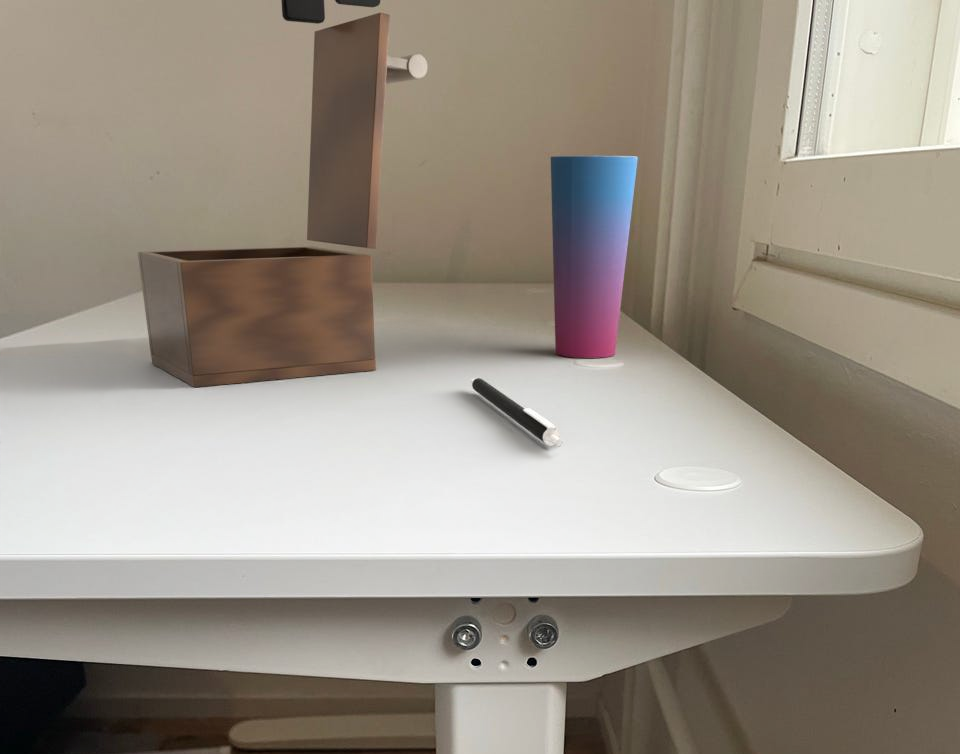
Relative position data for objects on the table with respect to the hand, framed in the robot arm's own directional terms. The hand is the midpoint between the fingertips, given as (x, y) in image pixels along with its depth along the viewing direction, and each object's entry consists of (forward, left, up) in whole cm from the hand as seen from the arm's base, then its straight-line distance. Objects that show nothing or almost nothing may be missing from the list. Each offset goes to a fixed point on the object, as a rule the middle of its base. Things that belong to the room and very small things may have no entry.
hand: (329, 13), depth 73 cm
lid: (0, 0, -8) cm, 8 cm away
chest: (-5, -5, -24) cm, 25 cm away
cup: (+19, +7, -24) cm, 32 cm away
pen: (+17, -19, -24) cm, 35 cm away
